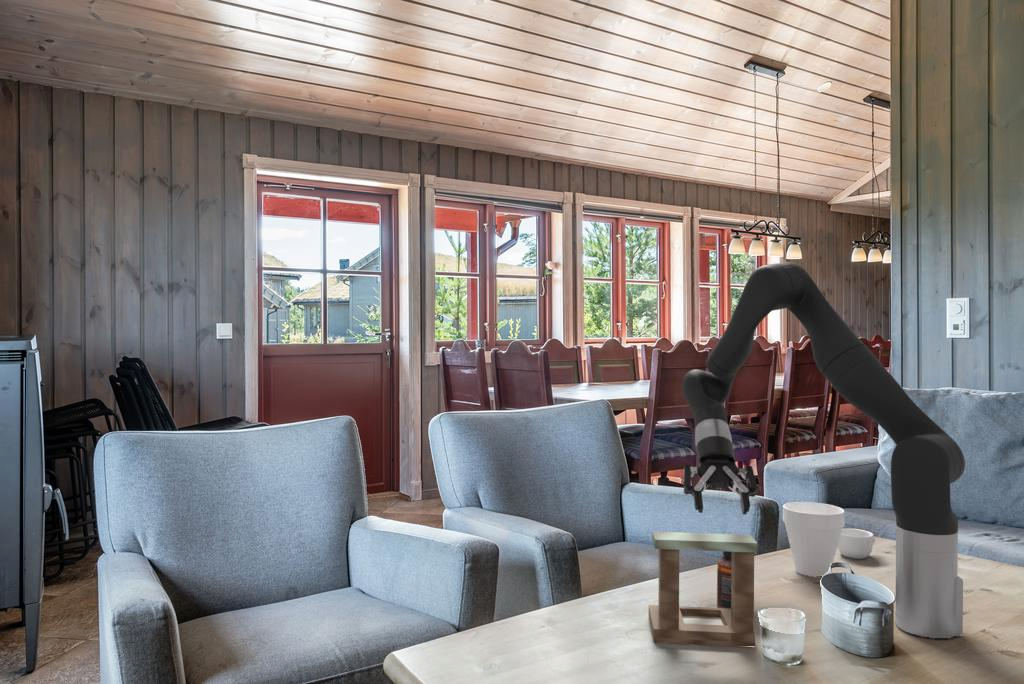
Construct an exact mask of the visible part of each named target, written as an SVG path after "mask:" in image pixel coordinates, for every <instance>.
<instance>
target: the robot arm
mask: <svg viewBox="0 0 1024 684" xmlns="http://www.w3.org/2000/svg"><path fill="white" fill-rule="evenodd" d="M782 309H787V310H788V311H790V312H791V313H792V315H794V316H795V317H796V319H797V320H798V321H799V323H800V324H801V325H802V326H803V328H804V329H805V330H806V332H807V335H808V338H809V341H810V342H809V343H810V346H811V351H812V356H813V359H814V363H815V365H816V367H817V368H818V371H819V372H820V373H821V374H822V375H823V377H824V378H825V379H826V381H827V382H828V383H829V384H830V385H831V387H832V388H833V389H834V390H835V391H836V392H837V393H838V394H839V396H841V397H842V398H843V399H844V400H846V401H847V403H849V404H850V405H852V406H853V407H854V408H856V409H857V410H858V411H860V412H861V413H863V414H864V415H866V416H867V417H869V418H870V419H871V420H873V421H874V422H875V423H876V424H877V425H879V426H880V427H881V428H882V429H883V430H884V431H885V433H886V434H887V435H888V436H889V437H890V439H892V441H893V443H894V444H895V447H894V449H893V451H892V453H891V458H890V489H891V491H890V492H891V505H892V509H893V512H894V514H895V524H896V525H895V531H896V532H895V610H894V612H895V613H894V614H895V626H896V627H898V629H900V630H902V631H904V632H906V633H908V634H911V635H914V634H915V636H919V637H922V638H923V637H924V638H927V637H929V638H928V639H935V638H948V639H950V638H949V637H953V636H956V637H960V636H959V635H963V633H964V580H963V578H962V577H961V576H959V575H958V574H959V573H958V570H959V568H958V567H959V566H958V564H959V563H958V562H959V560H958V559H959V558H958V557H959V553H958V551H959V549H958V546H959V540H958V539H959V517H958V515H957V514H956V513H955V512H954V511H953V509H952V505H951V504H952V502H951V484H953V483H954V482H956V481H958V480H959V479H960V478H961V477H962V475H964V474H963V473H964V471H965V468H966V461H965V456H964V453H963V450H962V448H961V447H960V446H959V445H958V443H957V442H956V441H955V440H954V438H952V437H951V436H950V435H949V434H948V433H947V432H946V431H945V430H944V429H942V428H941V427H940V426H939V425H938V424H937V423H936V422H935V421H934V420H933V419H932V418H930V417H929V416H928V415H927V414H926V413H925V412H924V411H923V410H922V409H921V408H920V407H919V406H918V405H917V404H916V403H915V402H914V400H913V399H911V397H910V396H909V395H908V393H907V392H906V390H904V389H903V387H902V386H901V385H900V383H899V382H898V381H897V380H896V379H895V377H894V376H893V375H892V374H891V373H890V372H889V371H888V370H887V368H886V367H885V366H884V364H883V363H882V362H881V361H880V360H879V358H878V357H877V356H876V355H875V354H874V353H873V352H872V351H871V350H870V348H869V347H868V346H867V345H866V344H865V343H864V342H863V340H861V339H860V337H859V336H858V335H857V334H855V332H854V330H852V328H851V327H850V326H849V325H848V324H847V323H846V322H845V320H844V319H843V318H842V316H840V314H839V313H837V311H836V310H835V309H834V307H833V306H832V305H831V304H830V302H829V301H828V299H827V298H826V297H825V295H824V294H823V293H822V292H821V290H820V289H819V286H817V284H816V282H815V281H814V280H813V278H812V277H811V276H810V274H809V273H808V272H807V271H806V270H805V269H804V268H803V267H802V266H801V265H799V264H797V263H796V262H792V261H791V262H790V261H784V262H777V263H771V264H769V263H768V264H766V265H762V266H760V267H758V268H757V267H756V269H755V270H754V271H752V273H751V274H750V276H749V277H748V280H747V281H746V284H745V286H744V288H743V291H742V292H741V294H740V297H739V300H738V302H737V304H736V306H735V309H734V311H733V313H732V316H731V318H730V320H729V323H728V325H727V327H726V329H725V330H724V332H723V334H722V336H720V338H719V340H718V341H717V343H716V344H715V345H714V347H713V349H712V350H711V352H710V353H709V355H708V356H707V358H706V362H705V365H706V368H707V369H708V371H705V370H702V369H692V370H689V371H688V372H687V373H686V374H685V375H684V377H683V380H682V392H683V397H684V399H685V401H686V403H687V405H688V407H689V409H690V411H691V412H690V413H692V416H693V419H694V429H695V432H694V433H695V434H694V435H695V437H694V441H695V443H694V444H695V449H696V456H697V457H696V458H697V466H691V465H690V464H689V463H685V464H684V465H683V466H684V467H683V472H682V473H683V476H682V477H683V478H682V479H683V493H684V494H685V495H691V496H692V497H693V503H694V509H695V511H698V513H700V514H701V513H703V510H704V504H703V494H702V493H703V492H705V490H706V489H707V488H708V487H710V488H711V489H717V488H721V489H727V488H728V489H730V490H731V491H732V492H733V493H736V494H737V495H738V496H739V501H740V507H741V513H742V515H747V513H749V512H750V508H751V501H750V497H752V498H754V497H755V496H756V494H757V491H758V485H757V481H756V477H755V473H754V469H753V466H752V465H747V466H746V467H743V468H742V467H740V468H739V467H738V466H737V464H736V458H735V453H734V445H733V439H732V434H731V431H730V427H729V423H728V416H727V415H728V414H727V410H726V409H725V406H724V405H723V404H724V403H726V402H727V400H728V399H729V397H730V394H731V390H732V387H733V382H734V381H735V377H736V375H737V373H738V371H739V370H740V368H742V366H743V365H744V364H745V362H746V360H747V358H749V356H750V355H751V352H752V350H753V346H754V337H755V332H756V330H757V328H758V326H759V324H760V323H761V322H762V321H763V320H764V319H765V318H766V317H767V316H768V315H769V314H770V313H771V312H773V311H778V310H782ZM696 474H697V476H698V477H699V478H700V479H699V481H698V482H697V483H696V485H693V484H692V478H693V477H694V475H696ZM739 475H740V476H741V477H742V479H743V480H745V483H746V485H745V484H743V482H742V480H741V479H740V478H739ZM963 636H964V635H963ZM953 638H954V637H953Z"/></svg>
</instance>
